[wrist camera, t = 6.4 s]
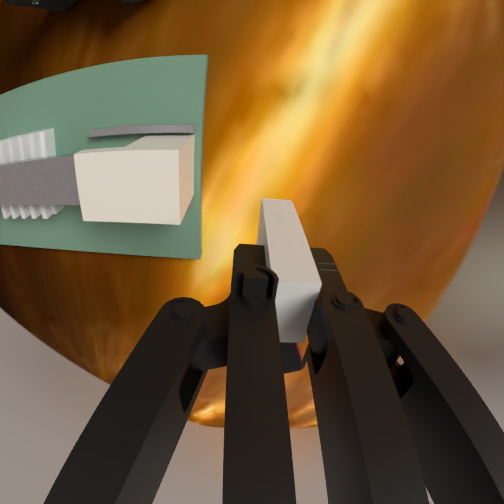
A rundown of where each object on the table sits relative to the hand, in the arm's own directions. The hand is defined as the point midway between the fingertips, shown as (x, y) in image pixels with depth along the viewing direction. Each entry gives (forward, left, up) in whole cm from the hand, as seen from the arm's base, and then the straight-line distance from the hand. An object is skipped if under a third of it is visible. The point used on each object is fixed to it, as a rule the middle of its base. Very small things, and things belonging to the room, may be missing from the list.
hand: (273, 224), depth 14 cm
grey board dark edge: (0, -22, -6) cm, 23 cm away
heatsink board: (0, -19, -10) cm, 22 cm away
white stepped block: (0, -9, -9) cm, 13 cm away
